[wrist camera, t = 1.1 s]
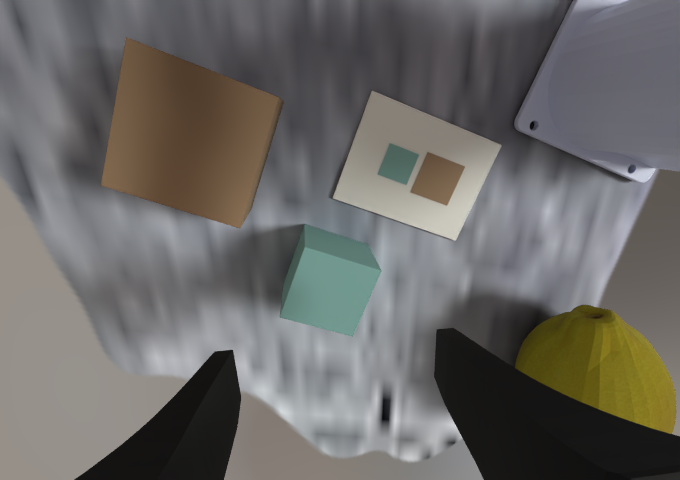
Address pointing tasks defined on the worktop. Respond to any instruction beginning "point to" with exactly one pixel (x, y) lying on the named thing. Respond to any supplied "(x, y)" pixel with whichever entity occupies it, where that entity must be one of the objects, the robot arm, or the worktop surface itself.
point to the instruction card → (414, 167)
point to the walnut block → (188, 136)
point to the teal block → (329, 281)
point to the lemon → (601, 366)
